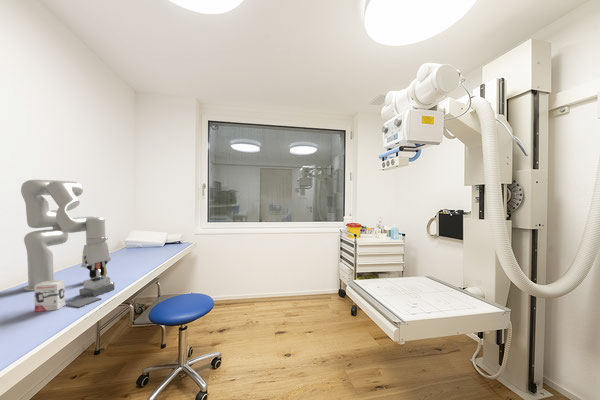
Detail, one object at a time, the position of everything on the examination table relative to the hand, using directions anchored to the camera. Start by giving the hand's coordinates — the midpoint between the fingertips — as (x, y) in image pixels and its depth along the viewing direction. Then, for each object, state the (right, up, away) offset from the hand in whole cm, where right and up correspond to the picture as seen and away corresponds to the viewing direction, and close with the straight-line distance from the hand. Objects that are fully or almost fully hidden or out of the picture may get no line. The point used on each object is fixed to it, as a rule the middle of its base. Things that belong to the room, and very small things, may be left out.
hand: (97, 275), depth 122 cm
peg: (0, -3, 0) cm, 3 cm away
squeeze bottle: (-15, -9, +18) cm, 26 cm away
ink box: (-6, -9, -17) cm, 20 cm away
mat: (+4, -9, -11) cm, 15 cm away
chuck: (0, -9, +2) cm, 9 cm away
